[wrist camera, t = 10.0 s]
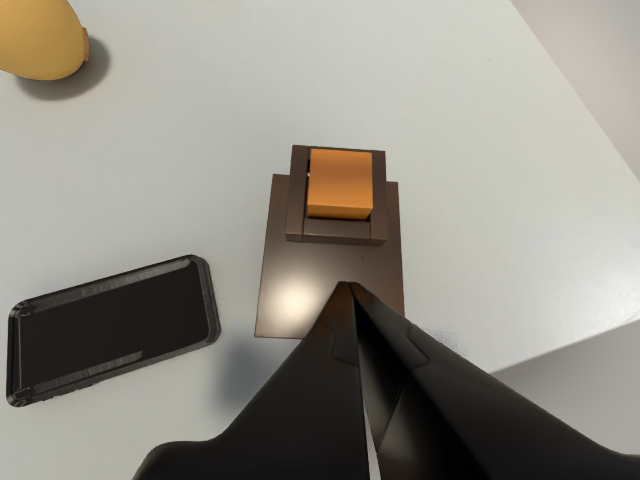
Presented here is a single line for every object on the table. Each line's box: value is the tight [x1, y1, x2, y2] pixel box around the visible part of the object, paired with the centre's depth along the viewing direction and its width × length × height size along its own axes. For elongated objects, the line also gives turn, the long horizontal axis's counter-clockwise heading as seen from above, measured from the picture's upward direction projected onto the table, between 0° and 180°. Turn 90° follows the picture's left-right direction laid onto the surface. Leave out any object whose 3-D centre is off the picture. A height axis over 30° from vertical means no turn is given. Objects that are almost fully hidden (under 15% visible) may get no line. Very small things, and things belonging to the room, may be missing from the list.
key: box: [308, 149, 373, 220], centre depth 16 cm, size 4×4×2 cm
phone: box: [6, 255, 220, 407], centre depth 19 cm, size 8×1×15 cm
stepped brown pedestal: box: [254, 145, 405, 339], centre depth 19 cm, size 14×10×7 cm
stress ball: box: [0, 0, 89, 80], centre depth 22 cm, size 10×10×10 cm
